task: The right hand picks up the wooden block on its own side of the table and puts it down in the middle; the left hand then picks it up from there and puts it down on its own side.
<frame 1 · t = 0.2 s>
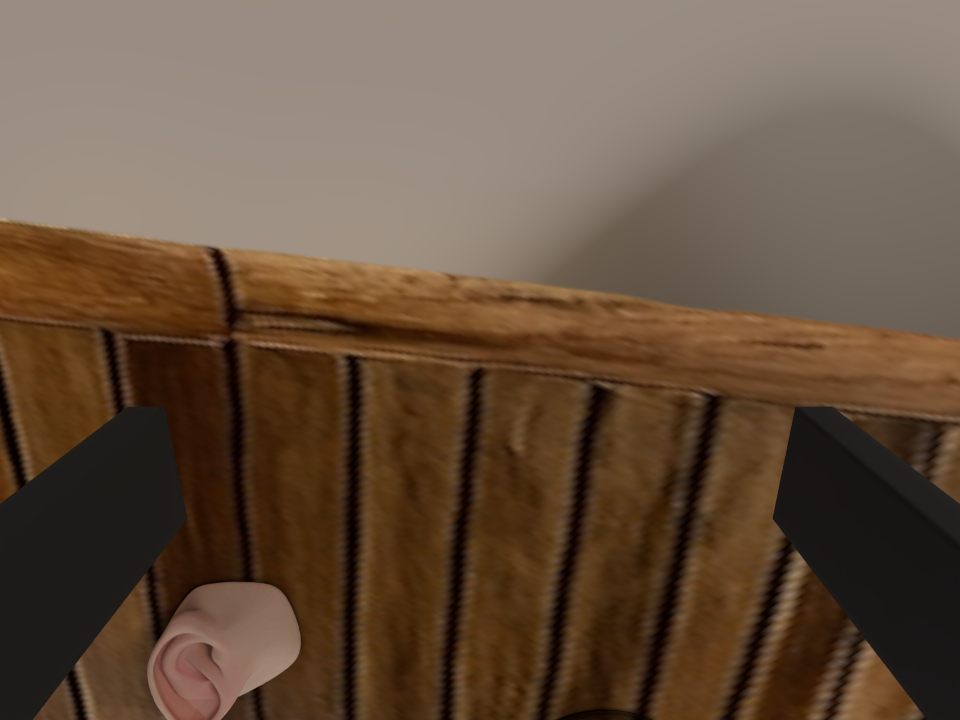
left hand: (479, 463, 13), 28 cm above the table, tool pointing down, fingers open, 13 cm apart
anatomical model: (231, 636, 50), on the table
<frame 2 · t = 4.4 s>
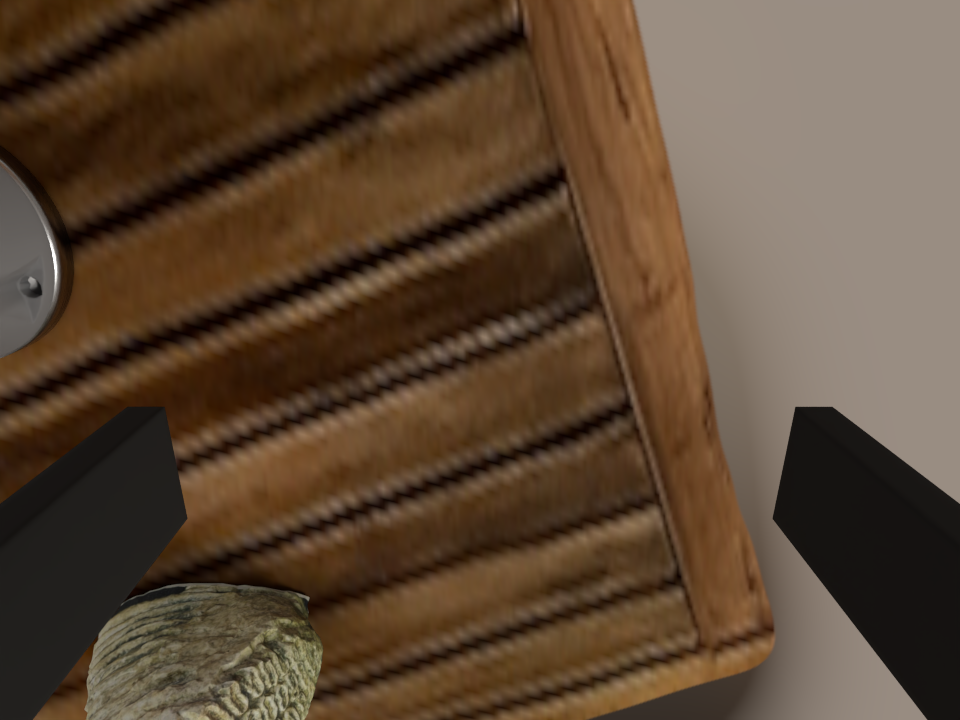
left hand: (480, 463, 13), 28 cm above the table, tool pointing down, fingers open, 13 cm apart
fossil: (227, 614, 49), on the table
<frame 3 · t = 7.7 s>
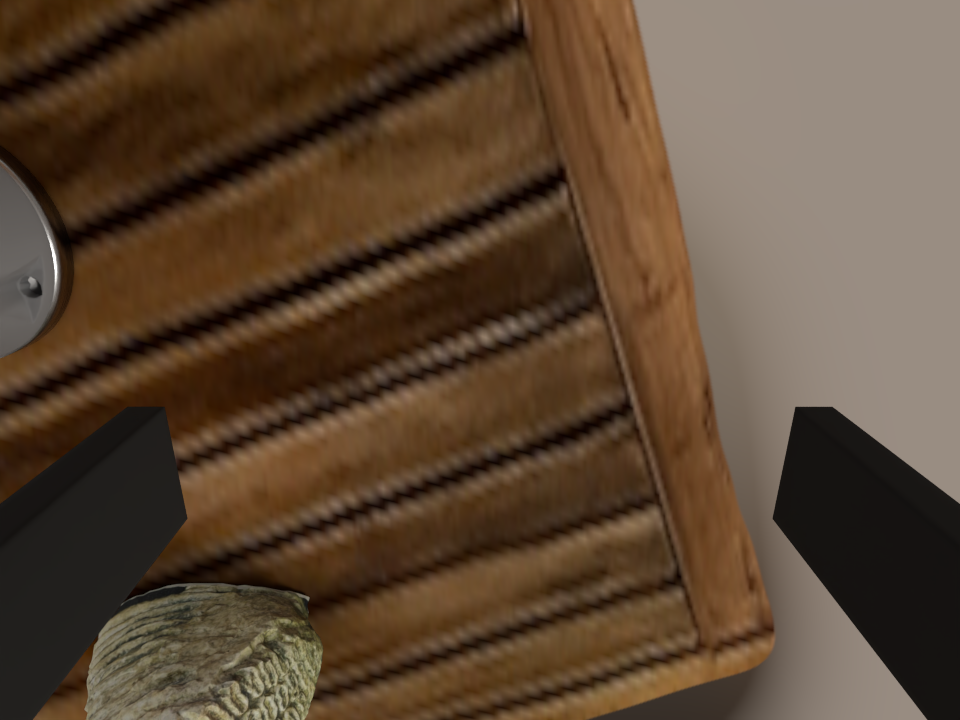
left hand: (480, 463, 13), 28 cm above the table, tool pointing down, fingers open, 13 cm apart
fossil: (227, 614, 49), on the table
when the right hand's fingers open (3 cm above the table, at t = 11.2 s): block drops 1 cm, on the table.
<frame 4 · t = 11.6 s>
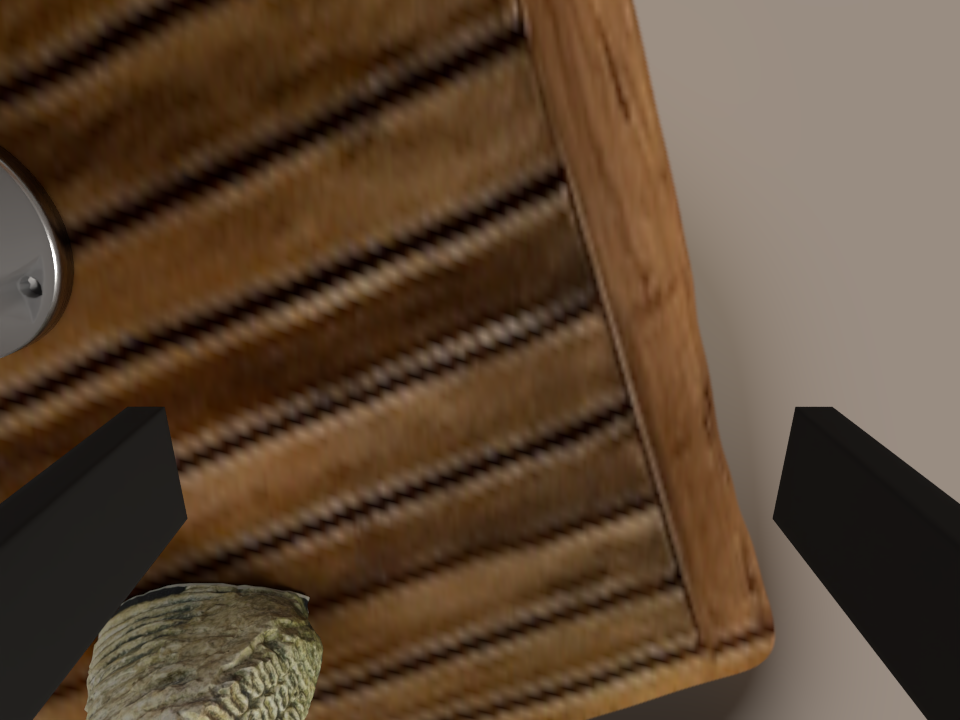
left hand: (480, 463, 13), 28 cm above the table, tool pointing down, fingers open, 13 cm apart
fossil: (227, 614, 49), on the table
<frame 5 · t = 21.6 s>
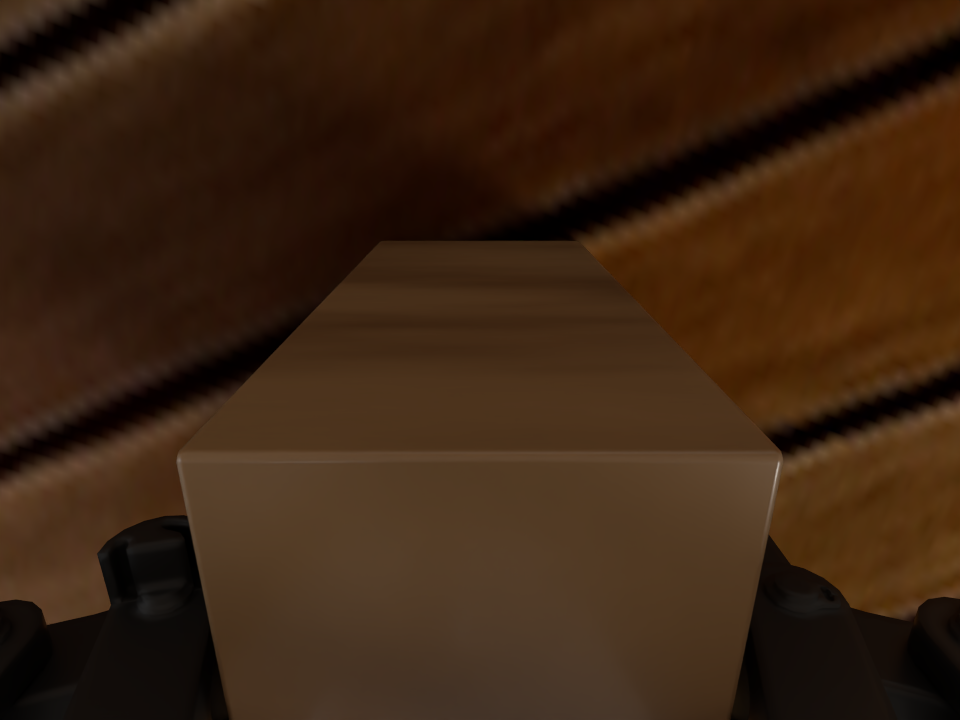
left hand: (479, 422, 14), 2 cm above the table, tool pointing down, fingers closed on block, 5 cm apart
block: (479, 381, 17), on the table, touching left hand
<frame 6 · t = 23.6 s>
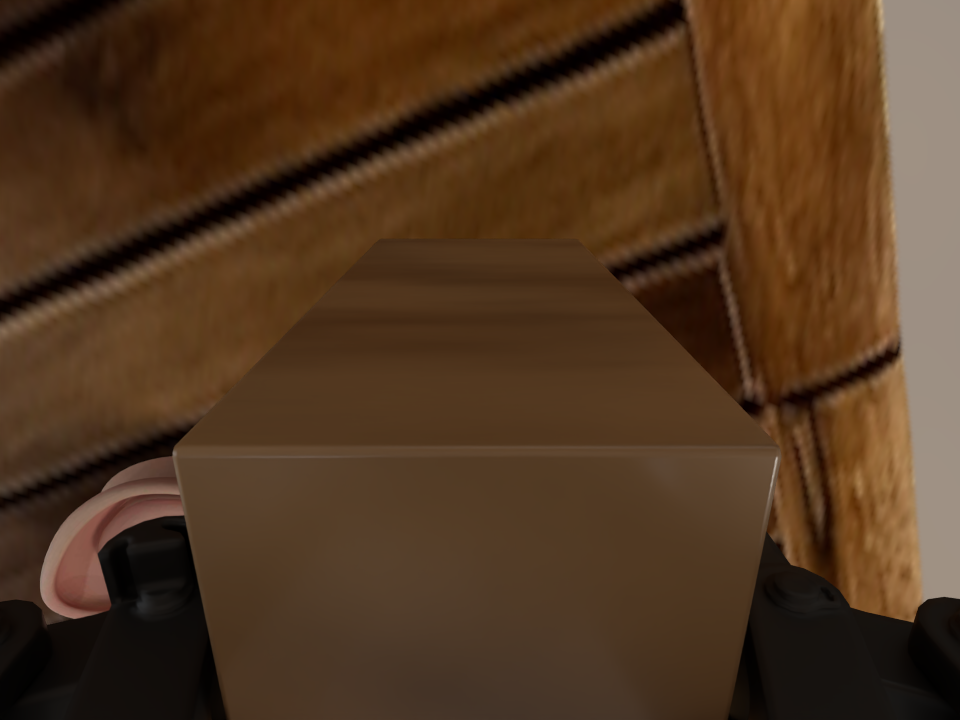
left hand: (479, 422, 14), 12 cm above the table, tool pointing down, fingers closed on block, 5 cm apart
anatomical model: (233, 540, 30), on the table
block: (478, 379, 17), point 10 cm above the table, touching left hand
when the left hand's fingers open (3 cm above the table, at t = 25.8 s): block drops 1 cm, on the table.
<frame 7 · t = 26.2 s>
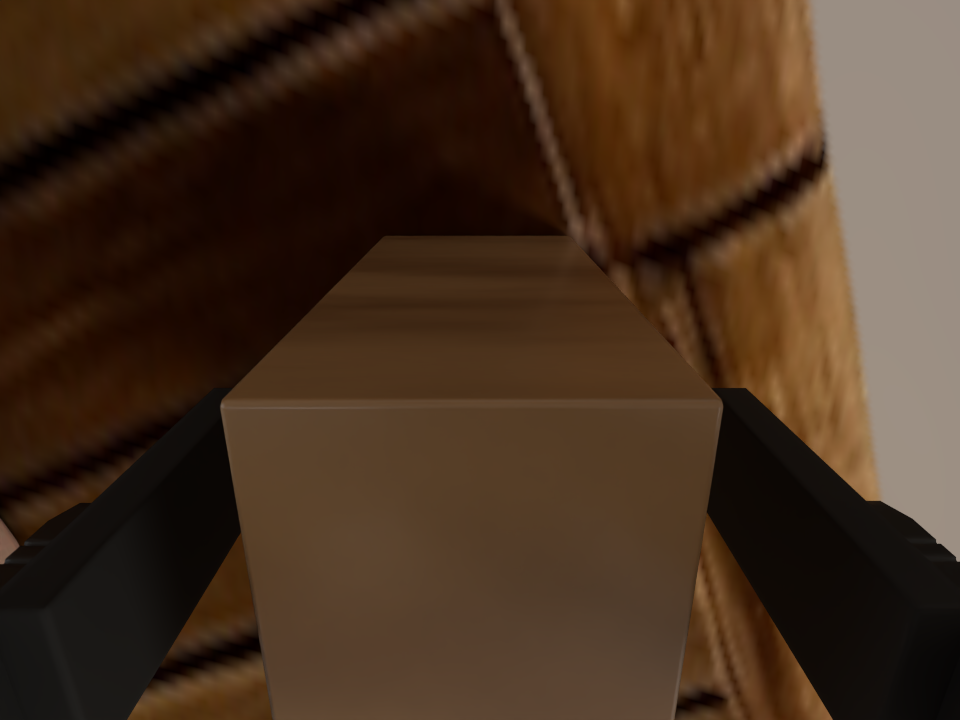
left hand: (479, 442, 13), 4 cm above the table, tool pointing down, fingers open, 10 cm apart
block: (477, 368, 18), on the table
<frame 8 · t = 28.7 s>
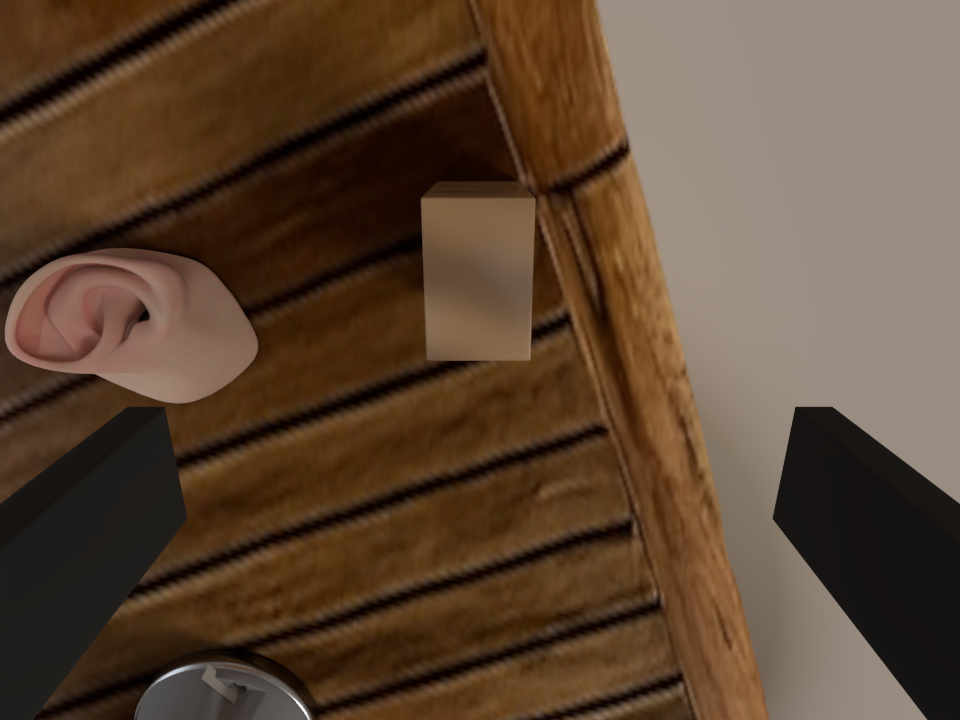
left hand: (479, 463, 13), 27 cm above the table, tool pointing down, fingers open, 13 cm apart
anatomical model: (154, 323, 40), on the table
block: (478, 244, 38), on the table
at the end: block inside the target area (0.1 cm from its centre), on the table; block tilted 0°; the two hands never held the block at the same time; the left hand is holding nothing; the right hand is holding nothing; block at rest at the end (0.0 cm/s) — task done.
